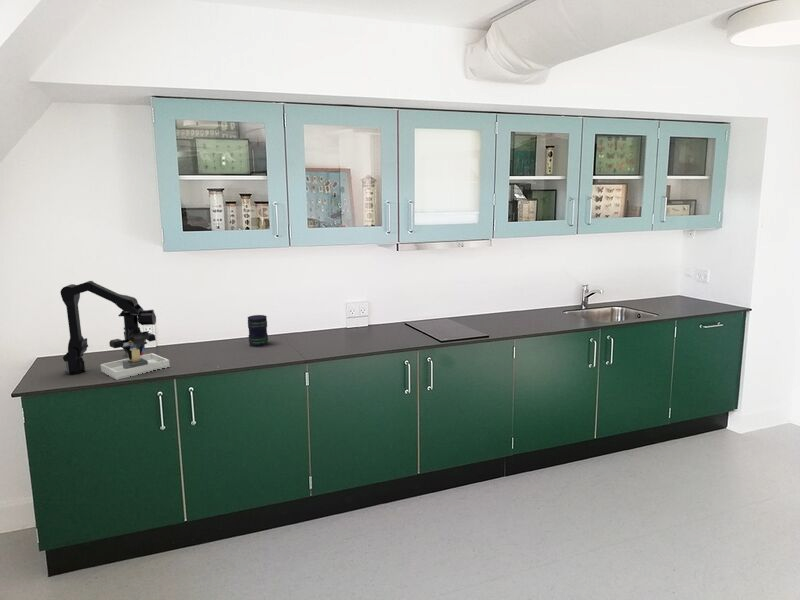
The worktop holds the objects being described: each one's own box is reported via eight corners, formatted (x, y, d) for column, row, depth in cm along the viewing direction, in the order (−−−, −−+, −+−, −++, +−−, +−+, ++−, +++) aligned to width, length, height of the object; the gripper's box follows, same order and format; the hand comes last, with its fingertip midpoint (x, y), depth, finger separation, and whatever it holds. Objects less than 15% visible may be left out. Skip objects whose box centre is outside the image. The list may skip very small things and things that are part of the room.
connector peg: (129, 361, 275) (128, 349, 274) (137, 360, 278) (136, 347, 277) (132, 363, 273) (131, 350, 272) (140, 361, 276) (139, 349, 274)
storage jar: (245, 346, 312) (244, 318, 310) (253, 342, 322) (251, 314, 319) (264, 347, 311) (262, 319, 308) (271, 342, 320) (269, 315, 318)
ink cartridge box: (125, 355, 300) (122, 326, 297) (136, 352, 304) (133, 324, 301) (135, 358, 294) (132, 329, 291) (146, 356, 298) (143, 327, 295)
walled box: (116, 379, 262) (115, 370, 261) (101, 371, 273) (100, 363, 273) (169, 367, 279) (168, 358, 278) (153, 360, 291) (152, 352, 290)
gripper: (117, 332, 260) (121, 366, 263) (159, 324, 273) (162, 357, 276) (107, 327, 268) (110, 361, 271) (148, 320, 281) (151, 353, 284)
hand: (134, 358), depth 275 cm, fingers closed on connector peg, 4 cm apart
